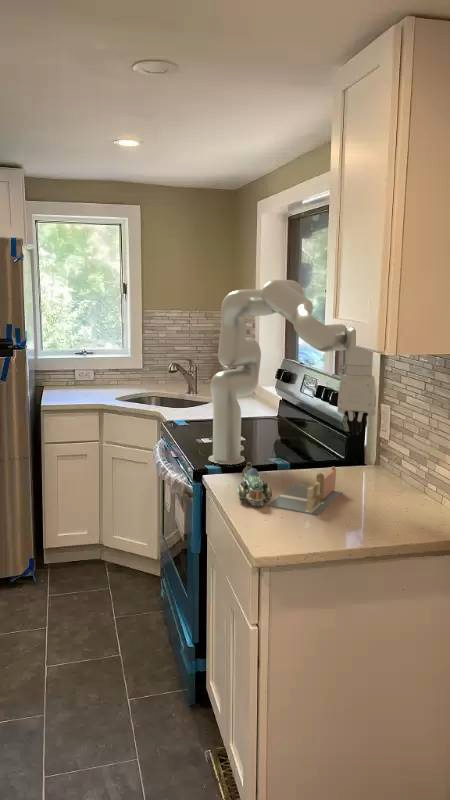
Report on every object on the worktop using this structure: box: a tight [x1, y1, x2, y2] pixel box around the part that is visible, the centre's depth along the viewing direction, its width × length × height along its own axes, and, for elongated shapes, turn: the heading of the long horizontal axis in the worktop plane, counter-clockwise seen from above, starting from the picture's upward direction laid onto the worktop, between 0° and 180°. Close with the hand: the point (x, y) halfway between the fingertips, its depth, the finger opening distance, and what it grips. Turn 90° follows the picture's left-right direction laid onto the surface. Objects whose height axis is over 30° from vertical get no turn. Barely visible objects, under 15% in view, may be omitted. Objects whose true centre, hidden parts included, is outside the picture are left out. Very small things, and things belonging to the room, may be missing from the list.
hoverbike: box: [237, 462, 273, 508], centre depth 189 cm, size 10×25×8 cm, turn 5°
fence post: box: [307, 472, 325, 511], centre depth 178 cm, size 10×2×9 cm, turn 152°
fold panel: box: [323, 466, 337, 499], centre depth 187 cm, size 11×1×7 cm, turn 152°
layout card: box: [266, 483, 343, 516], centre depth 185 cm, size 21×15×1 cm
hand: (355, 434), depth 184 cm, fingers closed
